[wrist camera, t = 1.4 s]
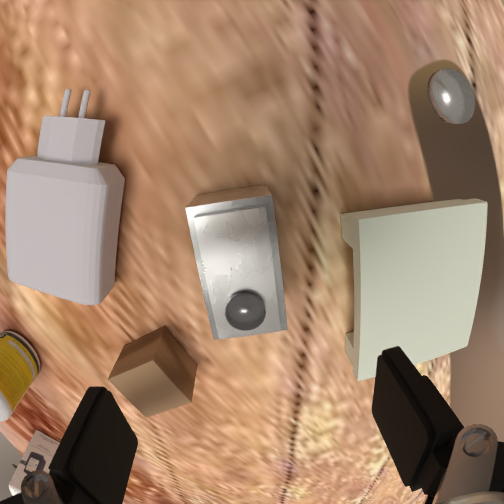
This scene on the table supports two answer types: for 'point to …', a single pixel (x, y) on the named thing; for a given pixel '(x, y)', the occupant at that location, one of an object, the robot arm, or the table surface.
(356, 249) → the stand
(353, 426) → the table surface
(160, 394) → the walnut block
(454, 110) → the grey disc
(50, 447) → the white product box
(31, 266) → the charger
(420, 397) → the robot arm
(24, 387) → the pill bottle
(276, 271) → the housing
